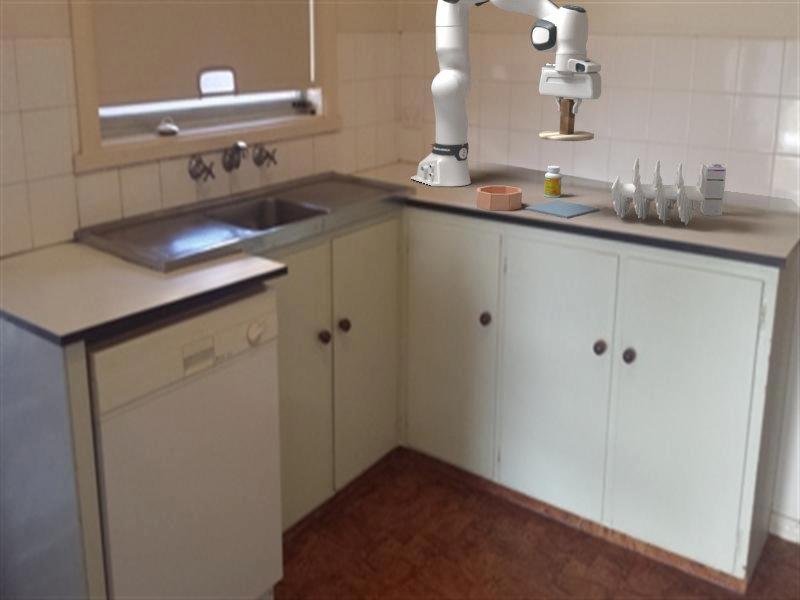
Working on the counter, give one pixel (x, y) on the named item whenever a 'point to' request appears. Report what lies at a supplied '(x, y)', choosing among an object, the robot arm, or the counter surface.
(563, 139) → the lid
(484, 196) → the bowl
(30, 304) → the counter surface
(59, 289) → the counter surface
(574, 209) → the mat
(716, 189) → the syrup box
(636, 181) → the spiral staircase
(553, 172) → the supplement bottle
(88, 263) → the counter surface
